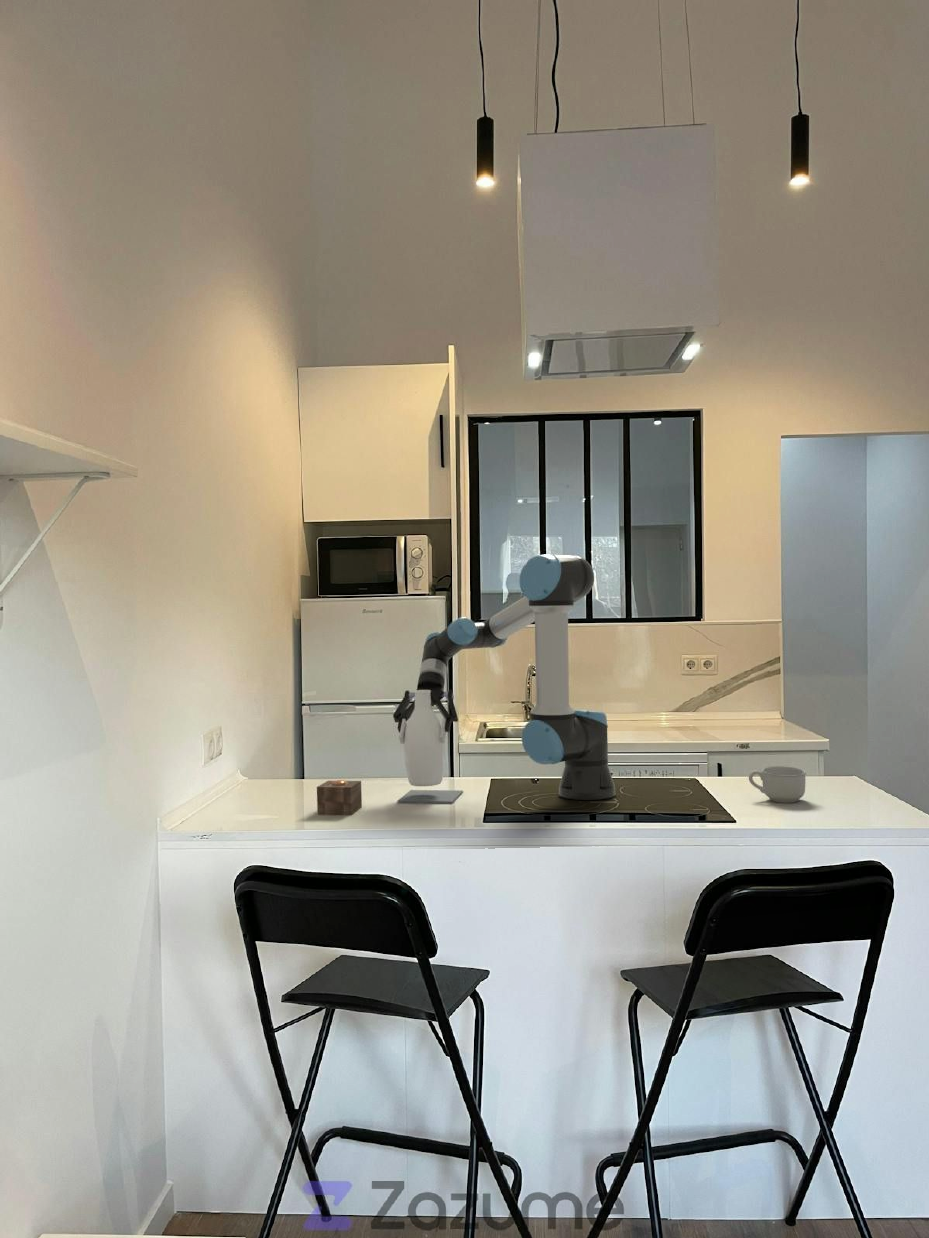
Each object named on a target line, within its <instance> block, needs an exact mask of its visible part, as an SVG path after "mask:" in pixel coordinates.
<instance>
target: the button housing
mask: <svg viewBox="0 0 929 1238" xmlns="http://www.w3.org/2000/svg"><path fill="white" fill-rule="evenodd" d="M332 781H333V780H326V781H325V782H323V783H321V784H319V785H318V786H317V787H316V805H317V806H316V808H317V811H316V812H317V815H319V816H320V814H322V815H326V814H327V816H331V814H334V815H333V816H336V815H337V816H352V815H354V814H355V813H356V812H358V811H359V810H360V809H362V808H363V800H362V799H363V798H362V780H346V781H347V782H350V783H349V784H348V785H346V786H328V785H330V784H331V782H332ZM328 814H330V815H328Z"/></svg>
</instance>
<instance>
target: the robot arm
mask: <svg viewBox="0 0 929 1238" xmlns="http://www.w3.org/2000/svg"><path fill="white" fill-rule="evenodd" d="M521 568H522V569H521V570H520V571H521V572H520V573H519V581H518V582H519V588H520V589H519V590H520V591H521V592H522V593H523V597H522V598H519V599H518V600H517V601H515V602H513V603H512V604H510V605H509V606H507V607H506V608H504V609H501V610H500V611H498V612H497V613H496V614H494V615H492V616H491V617H489V618H488V619H486V620H484V621H481V622H480V621H479V622H475V621H473V620H472V619H471V618H467V616H460V617H458V618H457V619H456V620H453V621H452V622H451V623H449V625H447V627H446V628H445V629H443V630H442V631H436V632H431V633H430V634H428V635H427V636H426V639H425V641H424V645H423V652H422V657H421V665H420V668H419V669H420V670H419V675H418V680H417V685H416V686H417V687H416V690H431V692H430V697H431V707H434V706H435V707H436V708H437V709H438V711H439V712H440V714H441V715H442V721H441V734H440V739H441V743H442V744H444V743H445V741H446V735H447V733H449V732H450V731H451V727H452V726H451V725H452V723H453V722H455V723H457V722H458V721H459V717H458V715H457V710H456V706H455V703H454V699H455V698H454V697H455V696H454V691H453V690H452V689H449V690H448V691H445V690H444V689H445V684H446V677H447V672H448V671H447V670H448V663H449V660H450V659H451V658H453V657H454V656H456V654H458V653H459V652H460V651H462V650H471V649H484V648H490V649H491V648H492V649H493V648H496V647H501V646H503V645H504V644H505V643H506V641H507V640H508V638H509V637H511V636H513V635H514V634H515V633H517V632H519V631H521V630H522V629H524V628H526V627H527V626H529V625H531V624H533V623H534V640H535V642H534V644H535V647H534V649H535V650H534V651H535V653H534V656H535V661H534V662H535V706H533V708H532V709H531V710H530V712H529V713H530V716H529V717H530V721H529V722H526V724H525V725H524V727H523V729H522V731H521V742H522V748H523V750H524V752H525V753H526V755H528V757H529V758H530V760H532V761H533V762H535V763H536V764H540V765H556V764H558V763H561V762H564V769H563V772H562V775H561V778H560V782H559V786H558V795H559V797H561V798H564V799H570V800H575V801H576V800H578V801H593V800H594V801H597V800H604V799H610V798H613V797H614V796H616V786H615V785H616V784H615V782H614V780H613V777H612V774H611V771H610V768H609V751H608V727H609V726H608V720H607V719H608V718H607V715H606V713H605V712H603V711H598V710H585V709H584V710H583V709H574V708H573V707H572V706H571V705H570V692H569V691H570V685H569V682H570V680H569V679H570V676H569V675H570V674H569V673H570V671H569V612H570V611H571V610H572V609H573V608H574V606H575V605H574V603H576V602H578V601H579V600H581V599H583V598H584V597H585V596H587V595H588V594H589V593H591V592H590V591H591V590H592V588H593V586H594V585H595V584H594V582H595V573H594V569H593V567H592V566H591V563H589V562H588V561H587V560H586V559H585V558H583V557H581V556H578V555H575V554H574V555H573V554H571V555H566V554H565V555H564V554H550V553H546V554H539V555H534V556H532V557H530V558H529V559H528V560H527V561H526V563H525V564H524V565H523V566H522V567H521ZM443 698H445V699H446V700H447V701H448V703H449V708H450V712H451V714H450V713H449V712H448V711H447V709H446V707H445V706H444V704H443V703H442V701H441V700H443ZM411 701H412V703H411ZM410 703H411V704H410ZM414 709H415V693H414V691H410V690H404V696H403V698H402V700H401V701H400V703H399V704H398V706H397V708H396V710H395V711H394V713H393V714H392V717H393V720H394V723H397V731H398V733H399V735H398V739H399V741H400V742H399V743H400V745H404V737H405V731H406V727H407V723H408V721H409V719H410V717H411V715H412V713H413V711H414ZM445 744H446V743H445Z"/></svg>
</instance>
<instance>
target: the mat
mask: <svg viewBox="0 0 929 1238" xmlns="http://www.w3.org/2000/svg"><path fill="white" fill-rule="evenodd" d="M463 793H464V790H456V789H455V790H451V789H450V790H447V789H445V790H444V789H443V790H442V789H440V790H439V789H438V790H437V789H436V790H435V789H434V790H432V789H410V790H408V791H407V792H406V793H405V794H404V795H402V797H400V798H398V800H396V803H397V802H399V803H398V804H431V805H432V804H435V805H436V804H439V805H440V804H443V805H447V804H448V805H449V804H450V805H453V804H454V803H455V801H457V800H458V799H459V798H460V796H462V794H463Z"/></svg>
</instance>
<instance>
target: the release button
mask: <svg viewBox="0 0 929 1238" xmlns="http://www.w3.org/2000/svg"><path fill="white" fill-rule="evenodd" d="M331 781H332V782H331V784H330V785H328V786H346V785H348V784H349V783H350V782H347V781H348V780H343V779H342V780H341V779H338V780H331Z"/></svg>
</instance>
